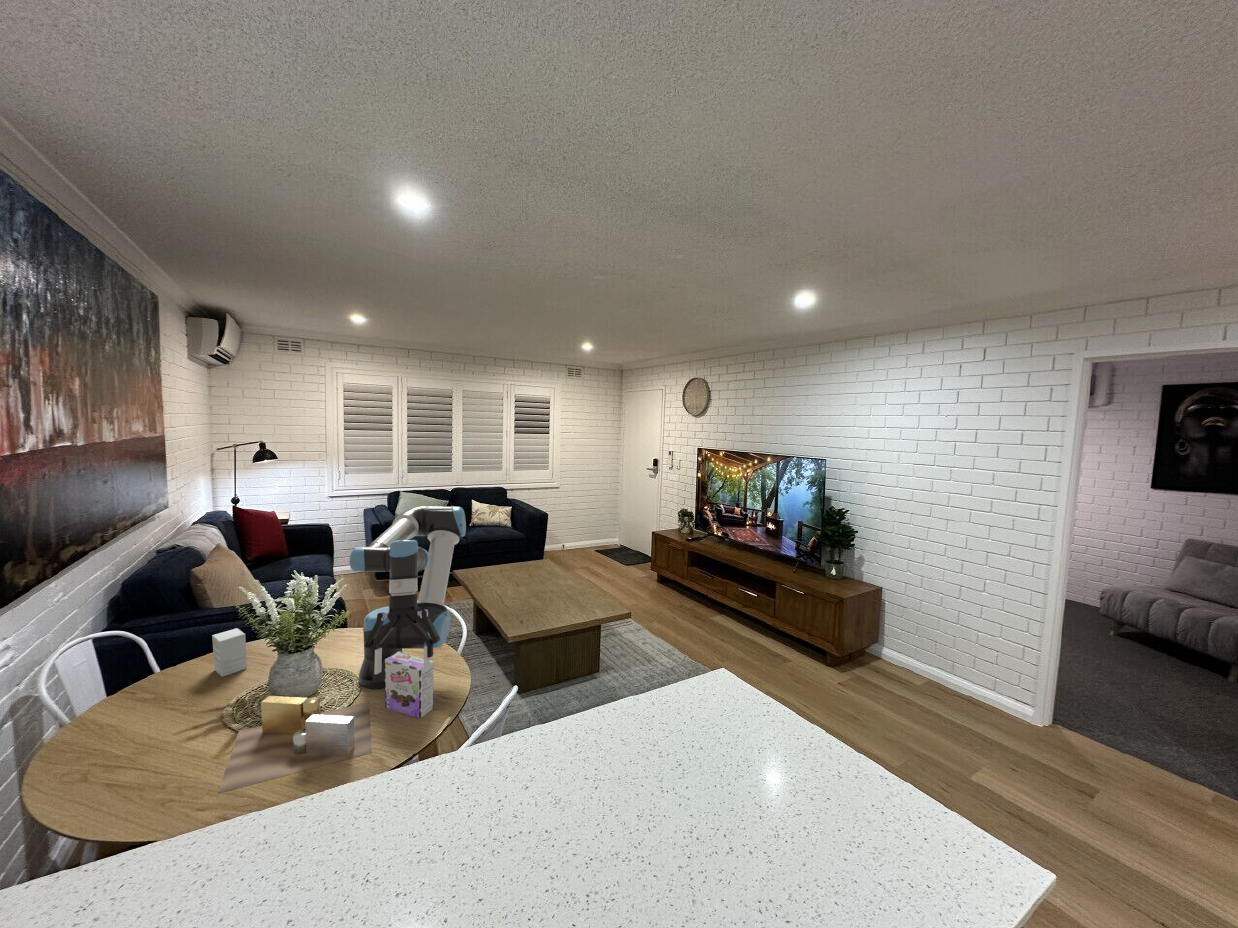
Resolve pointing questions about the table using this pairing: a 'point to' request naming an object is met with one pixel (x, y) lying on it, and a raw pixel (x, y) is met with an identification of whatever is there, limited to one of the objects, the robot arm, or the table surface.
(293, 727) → the loose hinge leaf
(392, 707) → the candy box
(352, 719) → the fixed hinge leaf
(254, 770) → the walnut board
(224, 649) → the grey tall block
